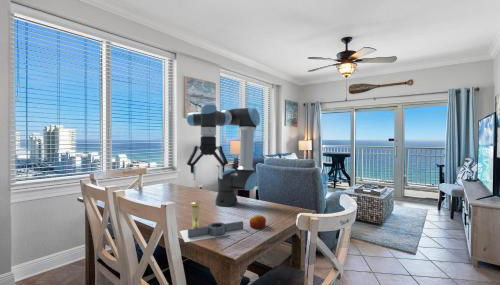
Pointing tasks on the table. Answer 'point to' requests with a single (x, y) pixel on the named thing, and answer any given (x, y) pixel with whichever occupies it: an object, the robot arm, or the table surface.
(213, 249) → the table surface
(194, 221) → the pin
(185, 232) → the board
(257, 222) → the fruit
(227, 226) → the gray bar with ring
